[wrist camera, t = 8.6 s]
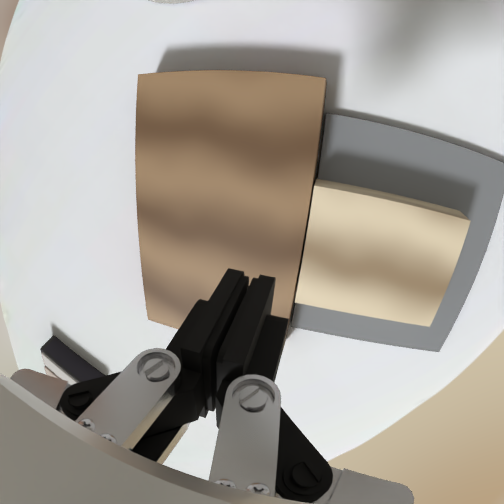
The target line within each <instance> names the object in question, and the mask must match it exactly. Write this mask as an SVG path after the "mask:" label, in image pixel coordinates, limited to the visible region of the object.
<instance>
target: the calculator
mask: <svg viewBox="0 0 504 504" xmlns="http://www.w3.org/2000/svg"><path fill="white" fill-rule="evenodd" d="M41 355H42V358H43V362H44V364H45V367H44V368H45V371H46V374H47V375H49V376H52V377H55V378H58V379H62V380H65V381H68V382H69V384H71V385H73V384H75V383H78V382H82V381H87V380H91V379H95V378H99V377H103V376H105V375H104V374H103V373H101V372H100V371H98V370H97V369H96V368H94V367H93V366H92V365H90V364H89V363H88V362H86V361H85V360H84V359H82V358H81V357H80V356H79V355H77V354H76V353H75V352H74V351H72V350H71V349H70V348H69V347H67V346H66V345H65V344H64V343H63V342H61V341H60V340H59V339H58V338H57V337H55V336H52V337H51V338H50V339H49V340H48V341H47V342H46V343H45V344H44V345H43V346H42V347H41Z"/></svg>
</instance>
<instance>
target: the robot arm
mask: <svg viewBox="0 0 504 504" xmlns="http://www.w3.org/2000/svg"><path fill="white" fill-rule="evenodd" d="M149 1H153V2H157V3H169V4H175V3H184V2H190V1H194V0H149ZM275 281H276V278H275V277H270V276H265V275H259V277H258V278H254V277H253V279H252V281H251V283H250V285H249V276H244V271H240V270H235V269H230V268H228V269H227V271H226V272H225V274H224V276H223V277H222V279H221V281H220V282H219V284H218V286H217V287H216V289H215V291H214V292H213V294H212V295H211V297H210V299H209V300H208V301H206V300H202V299H199V300H198V301H197V302H196V303H195V305H194V306H193V308H192V309H191V311H190V313H189V314H188V316H187V317H186V319H185V320H184V322H183V323H182V325H181V326H180V328H179V330H178V331H177V333H176V334H175V336H174V337H173V339H172V340H171V342H170V344H169V345H168V347H167V348H166V350H165V349H160V348H154V349H148V350H146V351H143V352H141V353H140V354H139V355H138V356H136V357H135V358H134V359H133V361H132V362H131V363H130V364H129V365H128V366H127V367H126V368H125V369H124V370H123V371H122V372H118V373H115V374H111V375H107V376H103V377H99V378H95V379H91V380H87V381H82V382H78V383H75V384H73V385H71V384H69V382H68V381H65V380H62V379H58V378H55V377H52V376H49V375H45V374H42V373H39V372H36V371H33V370H30V369H21V370H18V371H17V372H15V373H14V374H13V375H12V377H11V378H8V377H6V376H4V375H2V374H0V504H414V497H413V494H412V491H411V490H410V489H409V488H408V487H407V486H405V485H402V484H400V483H396V482H391V481H387V480H383V479H379V478H375V477H372V476H368V475H364V474H361V473H357V472H354V471H351V470H348V469H345V468H344V469H343V470H340V469H336V468H333V467H330V466H329V464H328V462H327V461H326V460H325V459H324V458H323V457H322V455H321V454H320V453H319V452H318V451H317V450H316V449H315V447H314V446H313V445H312V444H311V443H310V442H309V440H308V439H307V438H306V437H305V436H304V434H303V433H302V432H301V431H300V430H299V428H298V427H297V426H296V425H295V424H294V422H293V421H292V420H291V419H290V418H289V416H288V415H287V414H286V413H285V411H284V410H283V409H282V408H281V394H280V390H279V388H278V387H277V385H276V384H275V383H274V381H275V378H276V374H277V370H278V366H279V362H280V358H281V354H282V350H283V346H284V342H285V337H286V332H287V327H288V322H289V319H288V318H283V317H278V316H273V315H271V310H272V303H273V296H274V288H275ZM215 408H216V420H217V427H218V429H219V431H218V436H217V441H216V446H215V451H214V456H213V461H212V466H211V471H210V476H209V481H207V480H204V479H201V478H198V477H195V476H192V475H189V474H186V473H183V472H180V471H178V470H175V469H172V468H170V467H167V466H165V465H162V464H163V463H164V461H165V460H166V459H167V457H168V456H169V454H170V453H171V452H172V450H173V449H174V447H175V446H176V444H177V443H178V442H179V440H180V439H181V437H182V436H183V434H184V433H185V432H186V430H187V429H188V427H189V424H190V422H193V421H196V420H198V418H199V416H201V417H204V418H206V416H207V413H208V411H209V410H210V411H214V410H215Z"/></svg>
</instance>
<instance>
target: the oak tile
mask: <svg viewBox="0 0 504 504" xmlns="http://www.w3.org/2000/svg"><path fill="white" fill-rule="evenodd" d="M470 222H471V221H470V220H469V219H468V218H467V217H466V216H465V215H464V214H463V213H462V212H460V211H458V210H455V209H451V208H448V207H444V206H440V205H436V204H432V203H429V202H425V201H421V200H417V199H413V198H408V197H404V196H400V195H396V194H391V193H387V192H382V191H378V190H373V189H368V188H363V187H358V186H353V185H348V184H343V183H338V182H332V181H327V180H321V179H316V182H315V185H314V190H313V197H312V204H311V210H310V217H309V223H308V229H307V236H306V242H305V248H304V254H303V259H302V265H301V271H300V276H299V282H298V287H297V292H296V298H295V303H300V304H305V305H310V306H315V307H320V308H325V309H330V310H335V311H341V312H346V313H351V314H357V315H362V316H368V317H374V318H379V319H385V320H391V321H397V322H403V323H409V324H415V325H421V326H428V327H430V325H431V323H432V321H433V319H434V317H435V315H436V312H437V310H438V308H439V306H440V304H441V301H442V299H443V297H444V294H445V292H446V289H447V287H448V285H449V282H450V280H451V277H452V274H453V272H454V269H455V267H456V264H457V261H458V258H459V256H460V253H461V250H462V247H463V244H464V241H465V238H466V235H467V231H468V228H469V225H470Z"/></svg>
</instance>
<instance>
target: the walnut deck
mask: <svg viewBox="0 0 504 504" xmlns="http://www.w3.org/2000/svg"><path fill="white" fill-rule="evenodd" d="M326 85H327V81H326V78H322V77H314V76H306V75H298V74H288V73H276V72H262V71H239V70H196V71H174V72H160V73H148V74H139V75H138V84H137V102H136V136H135V165H136V200H137V219H138V234H139V246H140V257H141V267H142V277H143V285H144V293H145V301H146V309H147V316H148V320H151V321H154V322H157V323H160V324H163V325H166V326H170V327H173V328H176V329H179V328H180V326H181V325H182V323H183V322H184V320H185V319H186V317H187V316H188V314H189V313H190V311H191V309H192V308H193V306H194V305H195V303H196V302H197V301H198V300H199V299H202V300H206V301H208V300H209V299H210V297H211V295H212V294H213V292H214V291H215V289H216V287H217V286H218V284H219V282H220V281H221V279H222V277H223V276H224V274H225V272H226V271H227V269H228V268H230V269H235V270H240V271H244V276H249V285H250V283H251V281H252V279H253V277H254V278H258V277H259V275H265V276H270V277H275V278H276V281H275V288H274V296H273V303H272V310H271V315H273V316H278V317H283V318H288V319H289V322H290V317H291V312H292V307H293V302H294V297H295V292H296V286H297V281H298V276H299V270H300V265H301V259H302V254H303V248H304V242H305V237H306V231H307V225H308V219H309V212H310V206H311V200H312V193H313V187H314V180H315V173H316V166H317V159H318V152H319V144H320V136H321V128H322V120H323V112H324V103H325V94H326ZM289 322H288V326H289ZM287 331H288V327H287ZM286 336H287V332H286ZM285 341H286V337H285ZM284 344H285V342H284ZM283 348H284V346H283ZM282 351H283V350H282ZM281 355H282V354H281Z"/></svg>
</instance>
